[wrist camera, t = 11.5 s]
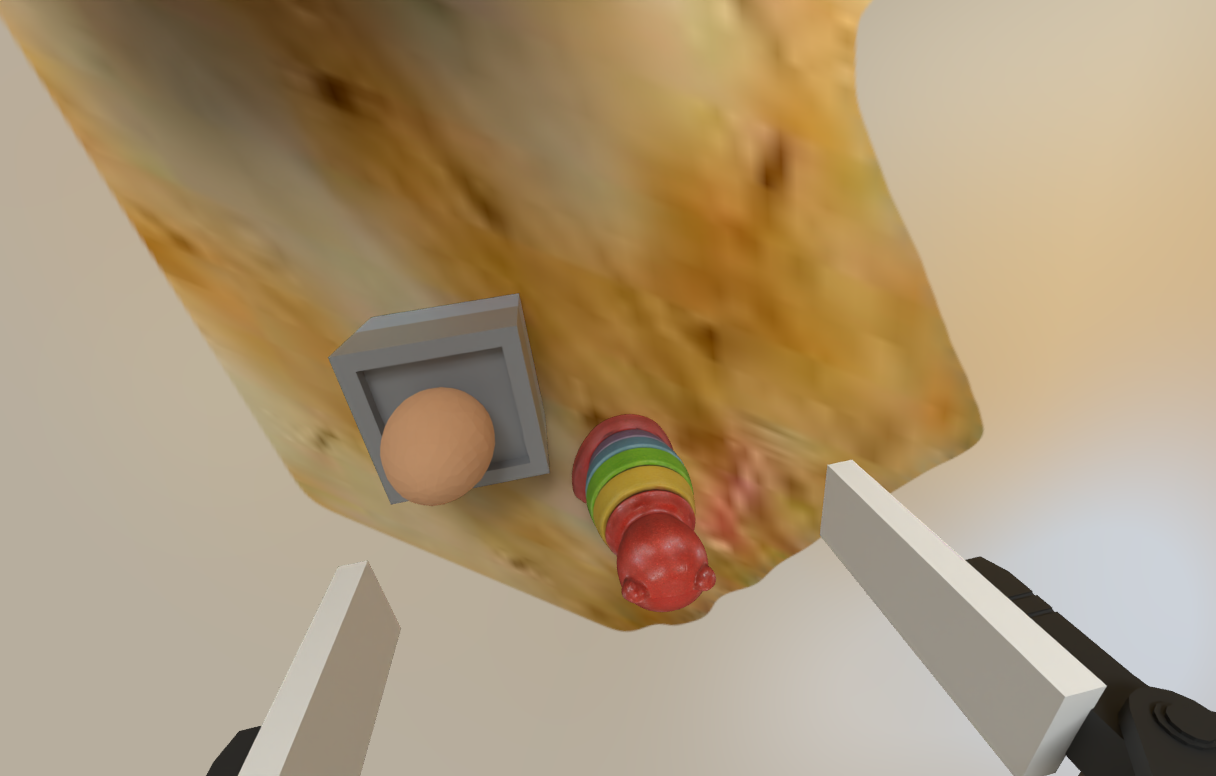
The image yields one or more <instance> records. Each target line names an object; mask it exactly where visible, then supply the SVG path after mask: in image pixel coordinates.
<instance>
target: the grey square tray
mask: <svg viewBox="0 0 1216 776" xmlns="http://www.w3.org/2000/svg"><path fill="white" fill-rule="evenodd" d="M328 358H329V361H330V363H331V365H332V368H333V370H334V372H335V375H336V377H337V379H338V382H339V384H340V386H341V389H342V391H343V393H344V396H345V398H346V400H347V403H348V405H349V407H350V410H351V412H352V414H353V417H354V419H355V421H356V424H357V426H358V428H359V431H360V433H361V435H362V438H363V440H364V442H365V445H366V447H367V449H368V452H369V454H370V456H371V459H372V461H373V463H374V466H375V468H376V470H377V473H378V475H379V477H380V480H381V482H382V484H383V487H384V489H385V491H386V494H387V496H388V498H389V501H390V503H391V504H396V503H401V502H406V501H409V500H407V499H405V498H403V497H402V496H401V495H400V494H399V493H398V492H397V491H396V490H395V489H394V488H393V486H392V485H391V484H390V482H389V481H388V480H387V477H386V474H385V471H384V469H383V466H382V462H381V457H380V445H381V438H382V435H383V431H384V428H385V426H386V424H387V421H388V419H389V418H390V416H391V415H392V414H393V412H394V411H395V409H396V408H397V407H398V406H399V405H400V404H401V403H402V402H403V401H404V400H406V399H407V398H409V397H410V396H412V395H414V394H416V393H418V392H420V391H423V390H426V389H431V388H438V387H446V388H454V389H458V390H461V391H464V392H466V393H467V394H469V395H471V396H472V397H474V398H475V399H476V400H477V401H479V402H480V403H481V404H482V405H483V406H484V408H485V409H486V410H487V412H488V413H489V416H490V418H491V420H492V423H493V428H494V433H495V447H494V452H493V457H492V459H491V462H490V464H489V467H488V469H487V471H486V472H485V474H484V476H483V477H482V479H481V480H480V481H479V482H478V483H477V484H476V485H475V486H474V487H473V488H477V487H482V486H487V485H492V484H497V483H502V482H507V481H512V480H517V479H522V478H527V477H532V476H537V475H542V474H547V473H550V471H549V458H548V444H547V431H546V417H545V413H544V408H543V403H542V399H541V394H540V389H539V385H538V380H537V375H536V371H535V366H534V361H533V357H532V352H531V347H530V343H529V338H528V333H527V329H526V324H525V319H524V314H523V310H522V305H521V300H520V296H519V293H518V294H512V295H505V296H499V297H493V298H487V299H481V300H475V301H469V302H462V303H456V304H450V305H444V306H438V307H432V308H425V309H419V310H413V311H407V312H401V313H395V314H389V315H382V316H376V317H371V318H370V319H369V320H368V321H367V322H366V323H365V324H364V325H362V326H361V327H360V328H359V329H358V330H357V331H356V332H355V333H354V334H353V335H352V336H351V337H350V338H348V339H347V340H346V341H345V342H344V343H343V344H342V345H341V346H340V347H339V348H338V349H337V350H336V351H335V352H333V353H332V354H331V355H330V356H329V357H328Z"/></svg>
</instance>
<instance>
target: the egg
mask: <svg viewBox="0 0 1216 776" xmlns="http://www.w3.org/2000/svg"><path fill="white" fill-rule="evenodd" d="M494 447H495V433H494V428H493V423H492V420H491V418H490V416H489V413H488V412H487V410H486V409H485V408H484V406H483V405H482V404H481V403H480V402H479V401H477V400H476V399H475V398H474V397H472V396H471V395H469V394H467V393H466V392H464V391H461V390H458V389H454V388H446V387H438V388H431V389H426V390H423V391H420V392H418V393H416V394H414V395H412V396H410V397H409V398H407V399H406V400H404V401H403V402H402V403H401V404H400V405H399V406H398V407H397V408H396V409H395V411H394V412H393V414H392V415H391V416H390V418H389V419H388V421H387V424H386V426H385V428H384V431H383V435H382V438H381V445H380V457H381V462H382V466H383V469H384V471H385V474H386V477H387V480H388V481H389V482H390V484H391V485H392V486H393V488H394V489H395V490H396V491H397V492H398V493H399V494H400V495H401V496H402V497H403V498H405V499H407V500H409V501H411V502H413V503H417V504H422V505H429V506H435V505H441V504H445V503H448V502H451V501H453V500H456V499H457V498H459V497H461V496H463V495H465V494H466V493H467V492H468V491H469V490H470V489H472V488H473V487H474V486H475V485H476V484H477V483H478V482H479V481H480V480H481V479H482V477H483V476H484V474H485V472H486V471H487V469H488V467H489V464H490V462H491V459H492V457H493V452H494Z"/></svg>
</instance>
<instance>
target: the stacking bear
mask: <svg viewBox="0 0 1216 776" xmlns="http://www.w3.org/2000/svg"><path fill="white" fill-rule="evenodd" d="M572 485H573V491H574V494H575V495H576V497H577V498H579V499H580V500H582V501H583V502H584V503H587V506H588V510H589V513H590V516H591V518H592V520H593V523H594V524H595V526H596V528H597V530H598V532H599V534H600V536H601V538H602V539H603V541H604V542H605V544H606V545H607V546H608V547H609V548H610V549H611V551H612V552H613V553H614V554H615V555H616V556H617V571H618V576H619V580H620V583H621V586H622V595H623V597H624V598H625V599H626V600H628V601H629V602H632V603H635V604H636V605H638V606H640V607H642V608H644V609H647V610H650V611H655V612H669V611H674V610H678V609H681V608H683V607H686V606H687V605H689V604H691V603H692V602H693V601H695V600H696V599H697V598H698V597H699V595H700V594H701V593H702V591H707V590H709V589H711V588H712V587H713V586H714V585H715V582H716V576H715V573H714V572H713V570H712V569H711V568H710V567H709V566H708V559H707V554H706V551H705V548H704V546H703V544H702V542H701V540H700V539H699V537H698V536H697V535H696V533H695V532H694V528H695V502H694V496H693V488H692V484H691V480H690V477H689V474H688V472H687V470H686V468H685V466H684V464H683V462H682V461H681V460H680V458H679V457H678V456H677V454H676V453H675V452H674V451H673V448H672V445H671V443H670V441H669V439H668V437H667V435H666V434H665V432H664V431H663V430H662V428H661V427H660V426H659V425H658V424H657V423H656V422H654V421H653V420H651V419H649V418H647V417H644V416H640V415H634V414H625V415H619V416H615V417H612V418H609V419H607V420H605V421H603V422H602V423H600V424H599V425H597V426H596V427H595V428H594V429H593V430H592V431H591V432H590V433H589V435H588V436H587V437H586V438H585V440H584V441H583V443H582V445H581V447H580V448H579V451H578V453H577V455H576V458H575V461H574V465H573V471H572Z"/></svg>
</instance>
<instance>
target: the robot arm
mask: <svg viewBox="0 0 1216 776" xmlns="http://www.w3.org/2000/svg"><path fill="white" fill-rule="evenodd" d="M820 536H821V537H822V538H823V539H824V541H825V542H826V543H827V545H828V546H829V547H830V548H831V550H832V551H833V552H834V553H835V554H836V556H837V557H838V558H839V560H840V561H841V562H842V563H843V564H844V566H845V567H846V568H847V569H848V571H849V572H850V573H851V574H852V576H853V577H854V578H855V579H856V580H857V582H858V583H859V584H860V586H861V587H862V588H863V589H864V591H865V592H866V593H867V594H868V596H869V597H870V598H871V599H872V600H873V602H874V603H875V604H876V605H877V607H878V608H879V609H880V610H881V612H882V613H883V614H884V615H885V617H886V618H887V619H888V620H889V622H890V623H891V624H892V625H893V627H894V628H895V629H896V630H897V631H898V633H899V634H900V635H901V636H902V638H903V639H904V640H905V641H906V643H907V644H908V645H909V646H910V648H911V649H912V650H913V651H914V653H915V654H916V655H917V656H918V657H919V659H920V660H921V661H922V663H923V664H924V665H925V666H926V667H927V669H928V670H929V671H930V672H931V674H932V675H933V676H934V677H935V679H936V680H937V681H938V682H939V684H940V685H941V686H942V687H943V689H944V690H945V691H946V692H947V694H948V695H949V696H950V697H951V699H952V700H953V701H954V702H955V703H956V705H957V706H958V707H959V708H960V710H961V711H962V712H963V713H964V715H965V716H966V717H967V718H968V720H969V721H970V722H971V723H972V725H973V726H974V727H975V728H976V730H977V731H978V732H979V733H980V735H981V736H982V737H983V738H984V740H985V741H986V742H987V743H988V744H989V746H990V747H991V748H992V749H993V751H994V752H995V753H996V754H997V756H998V757H999V758H1000V759H1001V761H1002V762H1003V763H1004V764H1005V766H1006V767H1007V768H1008V769H1009V771H1010V772H1011V773H1012V774H1013V775H1014V776H1046V775H1049V774H1053V773H1056V771H1057V769H1058V768H1059V766H1060V764H1061V763H1062V761H1063V759H1064V757H1065V756H1067V757H1068V758H1069V759H1070V760H1071V761H1072V762H1073V763H1074V764H1075V766H1076V767H1077V768H1078V769H1079V770H1080V771H1081V772H1080V774H1079V775H1078V776H1216V712H1212V711H1210V710H1208V709H1207V708H1205V707H1203V706H1202V705H1200V704H1198V703H1197V702H1195V701H1194V700H1191V699H1189V698H1187V697H1184V696H1182V695H1180V694H1177V693H1175V692H1173V691H1169V690H1164V689H1159V688H1155V687H1150V686H1148V685H1146V684H1145V683H1144V682H1142V681H1141V680H1140V679H1138V678H1137V677H1135V676H1134V675H1133V674H1132V673H1130V672H1129V671H1128V670H1127V669H1126V668H1124V667H1123V666H1122V665H1121V664H1119V663H1118V662H1117V661H1116V660H1115V659H1113V658H1112V657H1111V656H1110V655H1109V654H1107V653H1106V652H1105V651H1104V650H1103V649H1101V648H1100V647H1099V646H1098V645H1097V644H1095V643H1094V642H1093V641H1092V640H1091V639H1089V638H1088V637H1087V636H1086V635H1085V634H1083V633H1082V632H1081V631H1080V630H1079V629H1077V628H1076V627H1075V626H1074V625H1073V624H1071V623H1070V622H1069V621H1068V620H1066V619H1065V618H1064V617H1063V616H1062V615H1060V614H1059V613H1058V612H1054V611H1053V610H1052V607H1051V606H1050V605H1048V604H1047V603H1046V602H1044V600H1042V599H1041V598H1040V597H1039V596H1038V595H1036V596H1035V595H1034V594H1033V593H1032V591H1031V590H1030V589H1029V588H1028V587H1027V586H1026V585H1024V584H1023V583H1022V582H1021V581H1019V580H1018V579H1017V578H1016V577H1015V576H1013V575H1012V574H1011V573H1010V572H1008V571H1007V570H1005V569H1003V568H1001V567H999V566H997V565H995V564H994V563H992V562H990V561H988V560H986V559H984V558H982V557H976V558H972V559H968V560H964V559H963V558H962V557H961V556H960V555H959V554H957V553H956V552H955V551H954V550H953V549H952V548H951V547H950V546H949V545H947V544H946V543H945V542H944V541H943V540H942V539H940V538H939V537H938V536H937V535H936V534H935V533H934V532H932V530H930V529H929V528H928V527H927V526H926V525H925V524H924V523H922V522H921V521H920V520H919V519H918V518H917V517H916V516H915V515H913V514H912V513H911V512H910V511H909V510H908V509H907V508H906V507H904V506H903V505H902V504H901V503H900V502H899V501H898V500H897V499H895V498H894V497H893V496H892V495H891V494H890V493H889V492H888V491H886V490H885V489H884V488H883V487H882V486H881V485H880V484H879V483H877V482H876V481H875V480H874V479H873V478H872V477H871V476H870V475H868V474H867V473H866V472H865V471H864V470H863V469H862V468H861V467H859V466H858V465H857V464H856V463H855V462H854V461H853V460H849V461H844V462H839V463H834V464H830V465H827V474H826V484H825V493H824V502H823V512H822V521H821V531H820ZM400 630H401V627H400V625H399V623H398V621H397V619H396V617H395V615H394V613H393V611H392V609H391V607H390V605H389V603H388V601H387V599H386V597H385V595H384V593H383V591H382V589H381V586H380V585H379V582H378V580H377V578H376V576H375V574H374V572H373V570H372V568H371V566H370V564H369V562H368V561H363V562H358V563H353V564H348V565H343V566H339V567H338V568H337V570H336V572H335V574H334V577H333V579H332V581H331V583H330V585H329V587H328V589H327V591H326V593H325V595H324V597H323V599H322V602H321V604H320V606H319V608H318V610H317V612H316V614H315V616H314V618H313V620H312V622H311V624H310V626H309V629H308V631H307V633H306V635H305V637H304V639H303V641H302V643H301V645H300V647H299V649H298V651H297V654H296V656H295V658H294V660H293V662H292V664H291V666H290V668H289V670H288V673H287V674H286V676H285V679H284V681H283V683H282V685H281V687H280V689H279V691H278V693H277V695H276V697H275V699H274V701H273V704H272V706H271V708H270V710H269V712H268V714H267V716H266V718H265V720H264V722H263V724H262V726H258V727H254V728H250V729H246V730H242V731H239V732H238V733H237V734H236V736H235V737H234V738H233V739H232V740H231V742H230V743H229V744H228V745H227V747H226V748H225V749H224V750H223V751H222V752H221V754H220V755H219V756H218V757H217V759H216V760H215V761H214V762H213V764H212V766H211V768H210V770H209V771H208V773H207V775H206V776H360V774H361V770H362V767H363V764H364V760H365V756H366V752H367V749H368V745H369V742H370V738H371V734H372V731H373V727H374V724H375V720H376V717H377V713H378V709H379V706H380V702H381V699H382V695H383V691H384V688H385V684H386V681H387V677H388V673H389V670H390V666H391V662H392V659H393V655H394V652H395V647H396V644H397V641H398V637H399V634H400Z"/></svg>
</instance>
